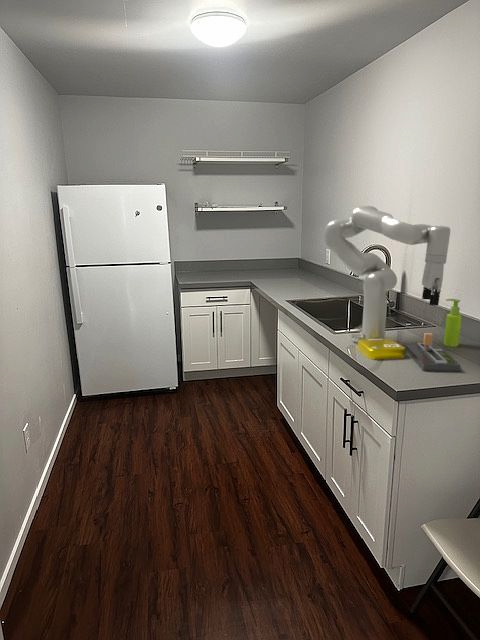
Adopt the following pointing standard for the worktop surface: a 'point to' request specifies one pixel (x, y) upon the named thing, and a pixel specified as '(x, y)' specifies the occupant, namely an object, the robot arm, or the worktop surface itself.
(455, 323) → the soap dispenser
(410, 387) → the worktop surface
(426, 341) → the fader knob
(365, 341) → the element tile
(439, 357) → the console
